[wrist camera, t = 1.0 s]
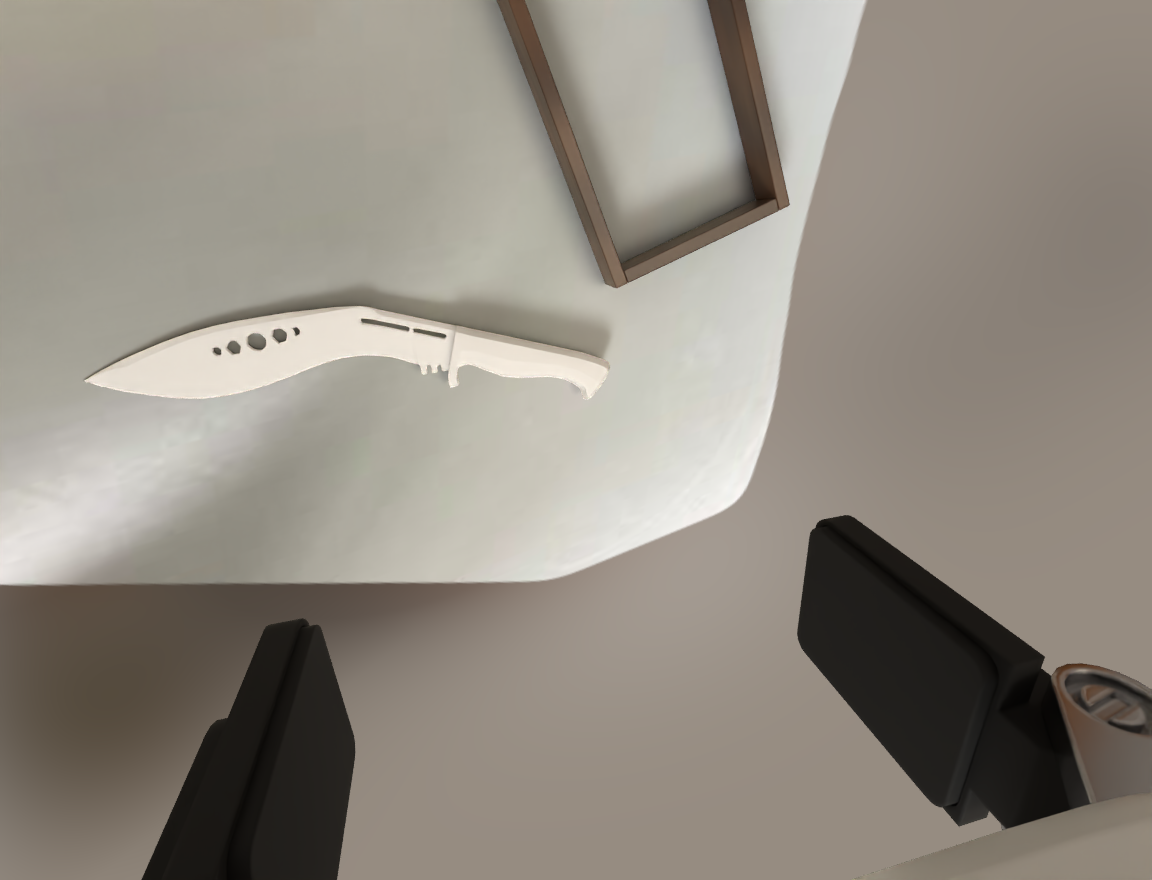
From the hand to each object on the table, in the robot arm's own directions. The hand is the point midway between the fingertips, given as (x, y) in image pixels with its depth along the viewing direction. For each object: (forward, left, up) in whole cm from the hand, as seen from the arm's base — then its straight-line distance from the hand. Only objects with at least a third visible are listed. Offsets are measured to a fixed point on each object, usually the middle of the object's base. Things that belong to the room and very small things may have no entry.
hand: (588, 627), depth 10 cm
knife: (-1, -7, -28) cm, 29 cm away
